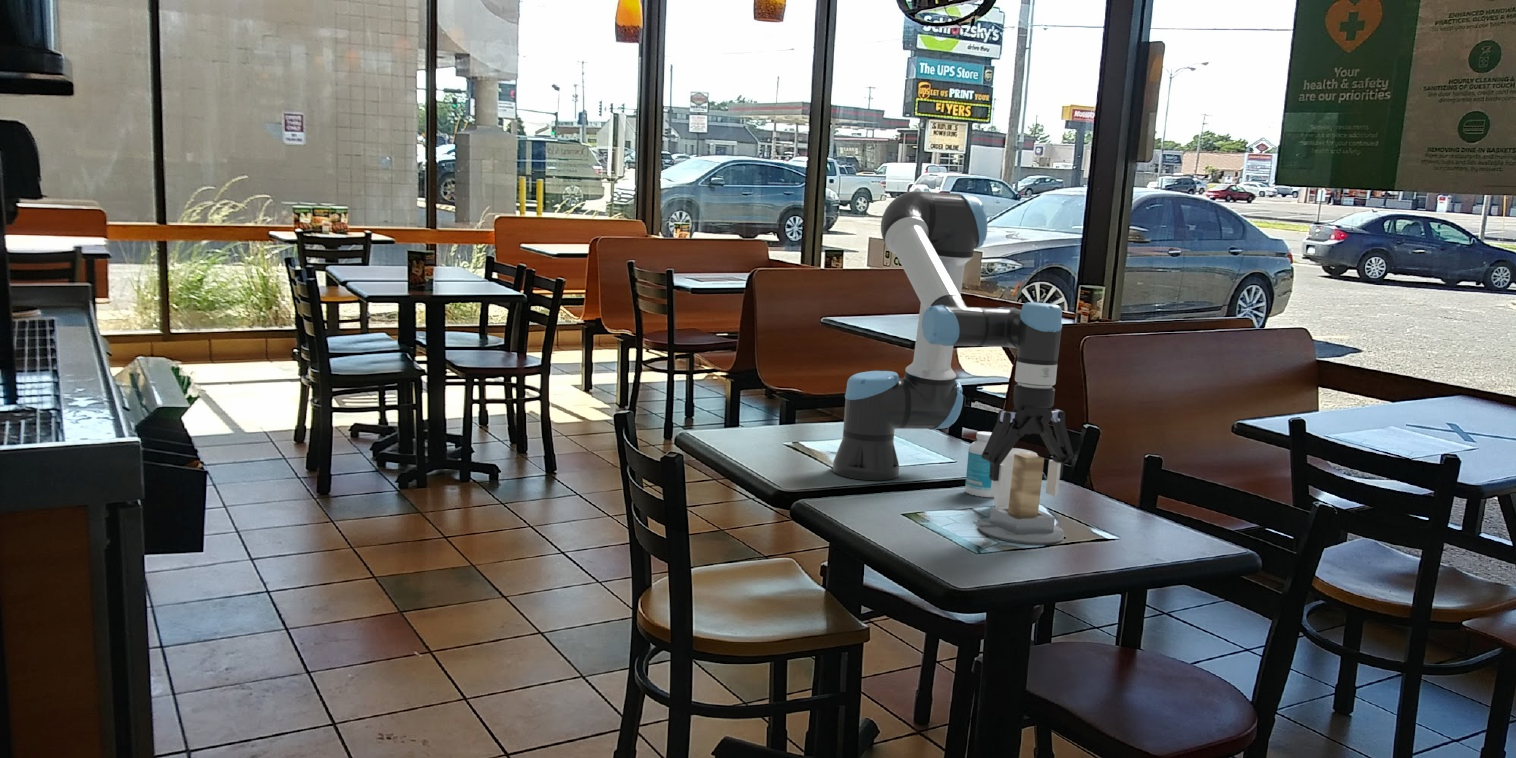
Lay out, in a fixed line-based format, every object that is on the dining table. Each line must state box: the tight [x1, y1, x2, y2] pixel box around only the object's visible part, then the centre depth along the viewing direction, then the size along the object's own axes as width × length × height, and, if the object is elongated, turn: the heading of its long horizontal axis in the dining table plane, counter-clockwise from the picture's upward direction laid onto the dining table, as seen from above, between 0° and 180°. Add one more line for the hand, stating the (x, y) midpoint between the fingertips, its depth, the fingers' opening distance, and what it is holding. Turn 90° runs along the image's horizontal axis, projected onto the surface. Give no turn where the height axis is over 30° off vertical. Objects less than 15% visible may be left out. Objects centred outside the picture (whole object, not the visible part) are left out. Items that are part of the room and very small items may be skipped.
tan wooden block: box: [1008, 454, 1045, 517], centre depth 218 cm, size 4×4×14 cm
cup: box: [993, 447, 1038, 507], centre depth 237 cm, size 9×9×12 cm
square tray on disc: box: [978, 506, 1065, 546], centre depth 219 cm, size 16×16×4 cm
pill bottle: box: [964, 431, 994, 498], centre depth 248 cm, size 8×7×14 cm
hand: (1024, 495), depth 218 cm, fingers open, 12 cm apart
